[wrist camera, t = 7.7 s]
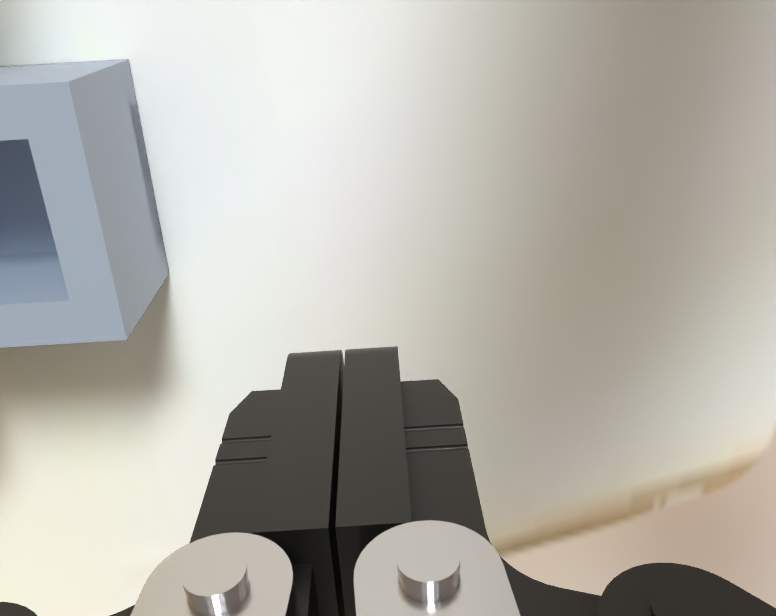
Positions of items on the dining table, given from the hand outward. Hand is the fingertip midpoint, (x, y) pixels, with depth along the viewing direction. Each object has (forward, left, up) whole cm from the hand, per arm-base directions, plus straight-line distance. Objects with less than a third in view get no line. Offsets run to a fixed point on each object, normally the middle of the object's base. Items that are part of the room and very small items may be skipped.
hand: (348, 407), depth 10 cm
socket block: (+10, 0, -15) cm, 18 cm away
